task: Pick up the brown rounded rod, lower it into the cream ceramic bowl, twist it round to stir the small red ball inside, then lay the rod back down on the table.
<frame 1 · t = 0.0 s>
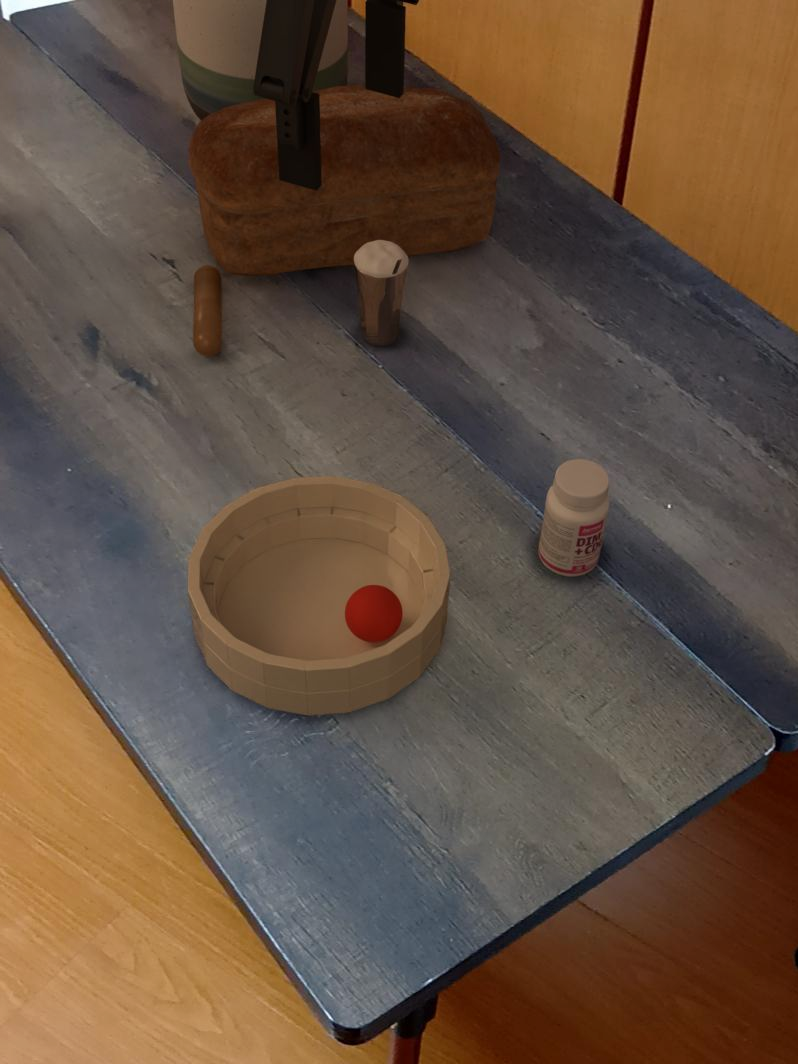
hand: (344, 135, 91), 26 cm above the table, tool pointing down, fingers open, 13 cm apart
bowl: (322, 621, 95), on the table
bread: (348, 241, 127), on the table
vase: (267, 121, 140), on the table
brown rounded rod: (208, 320, 116), on the table
milkshake: (382, 339, 117), on the table
red ball: (373, 613, 92), point 3 cm above the table, touching bowl
pill bottle: (568, 557, 102), on the table
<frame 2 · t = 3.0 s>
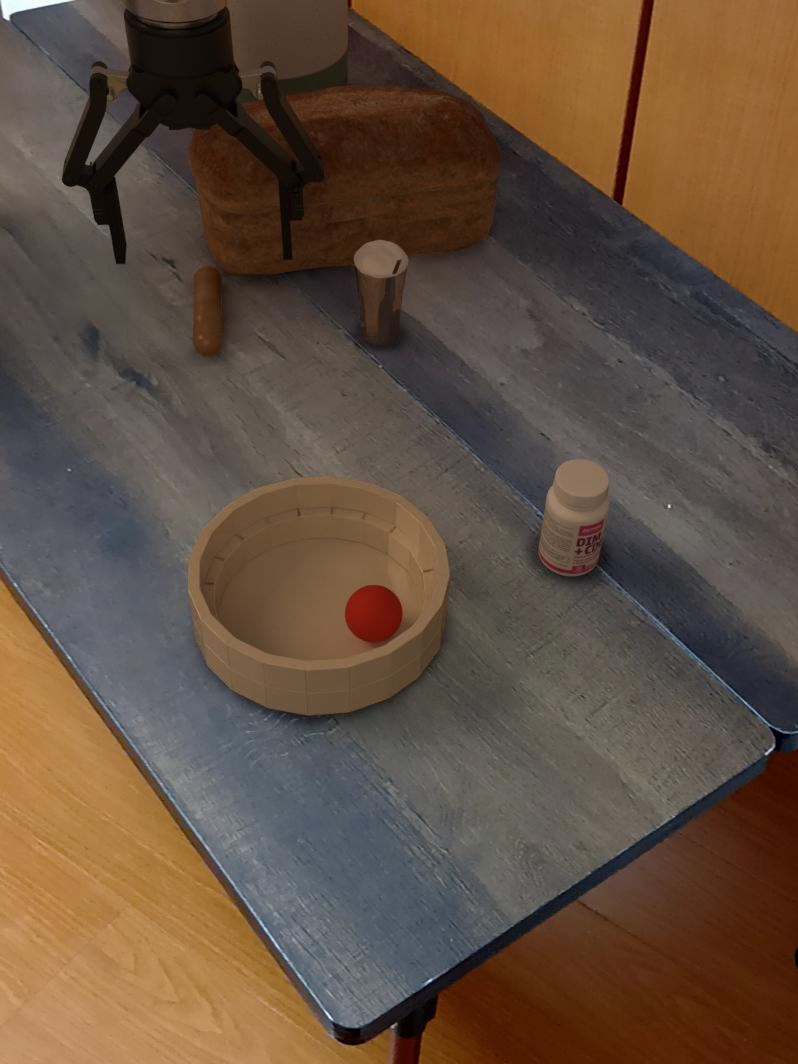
hand: (205, 252, 111), 7 cm above the table, tool pointing down, fingers open, 13 cm apart
nothing on the table moved.
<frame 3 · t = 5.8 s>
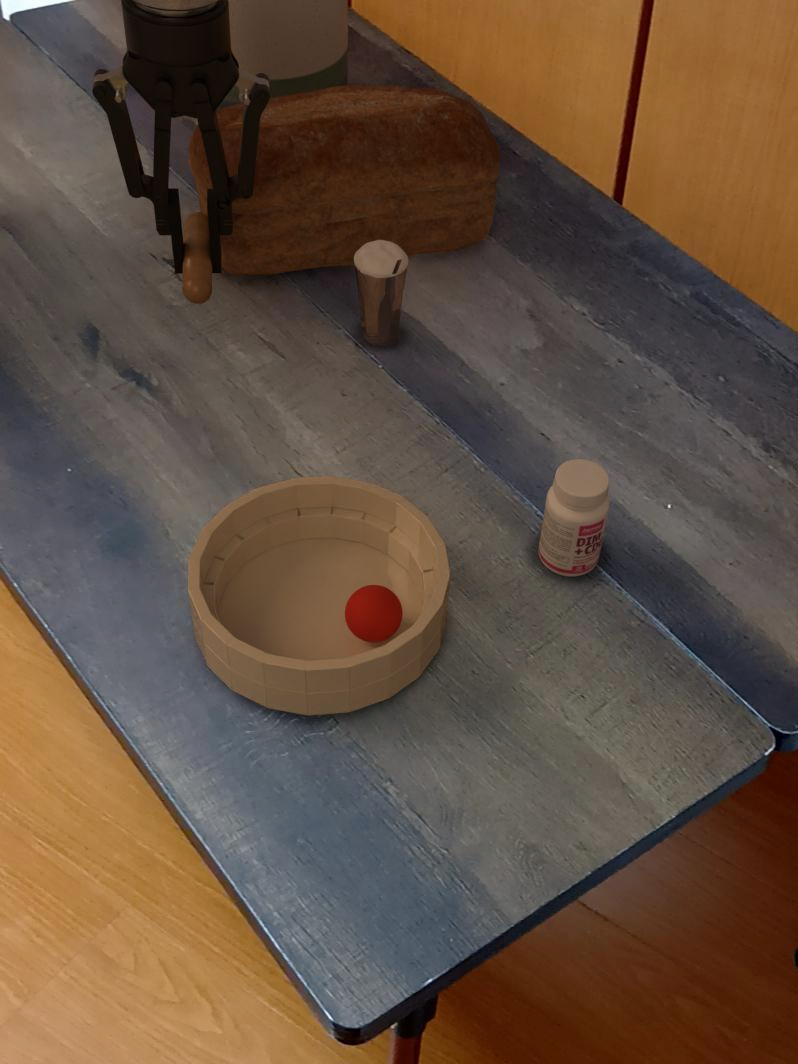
hand: (198, 263, 112), 6 cm above the table, tool pointing down, fingers closed on brown rounded rod, 2 cm apart
brown rounded rod: (198, 268, 112), point 5 cm above the table, touching gripper
everything else where it was.
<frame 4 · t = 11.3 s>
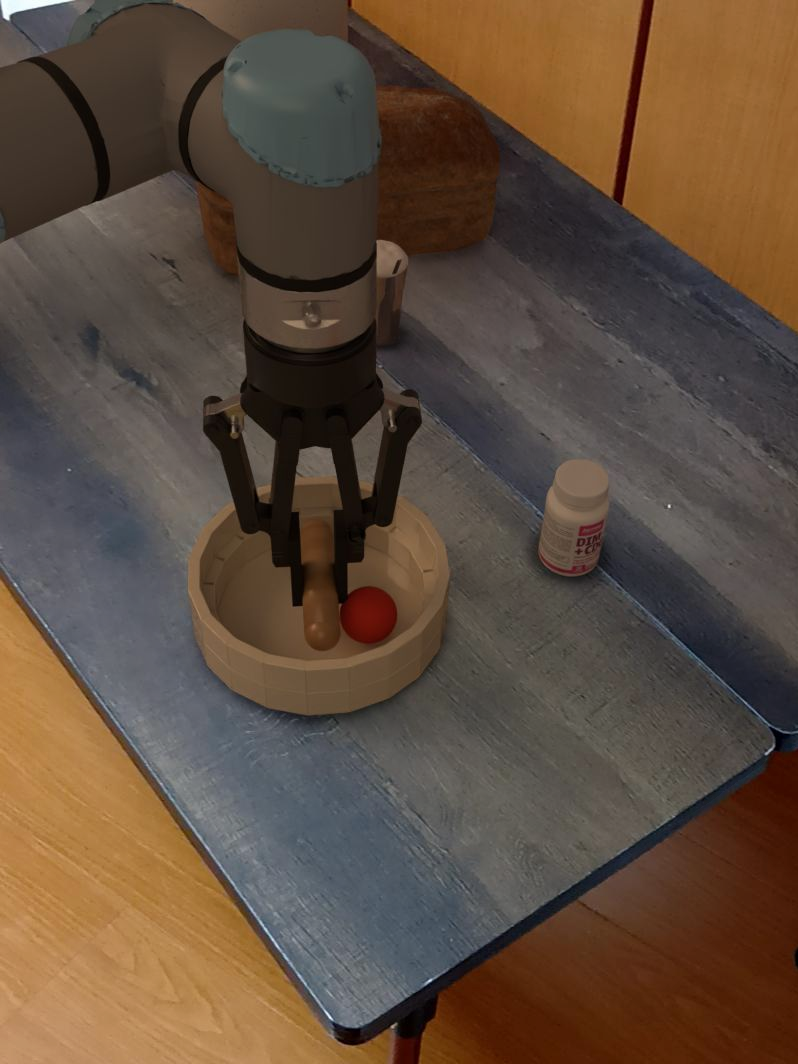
hand: (319, 589, 92), 4 cm above the table, tool pointing down, fingers closed on brown rounded rod, 2 cm apart
brown rounded rod: (319, 594, 92), point 4 cm above the table, touching gripper
red ball: (368, 614, 92), point 3 cm above the table, tilted 11°, touching bowl, gripper
everything else where it was.
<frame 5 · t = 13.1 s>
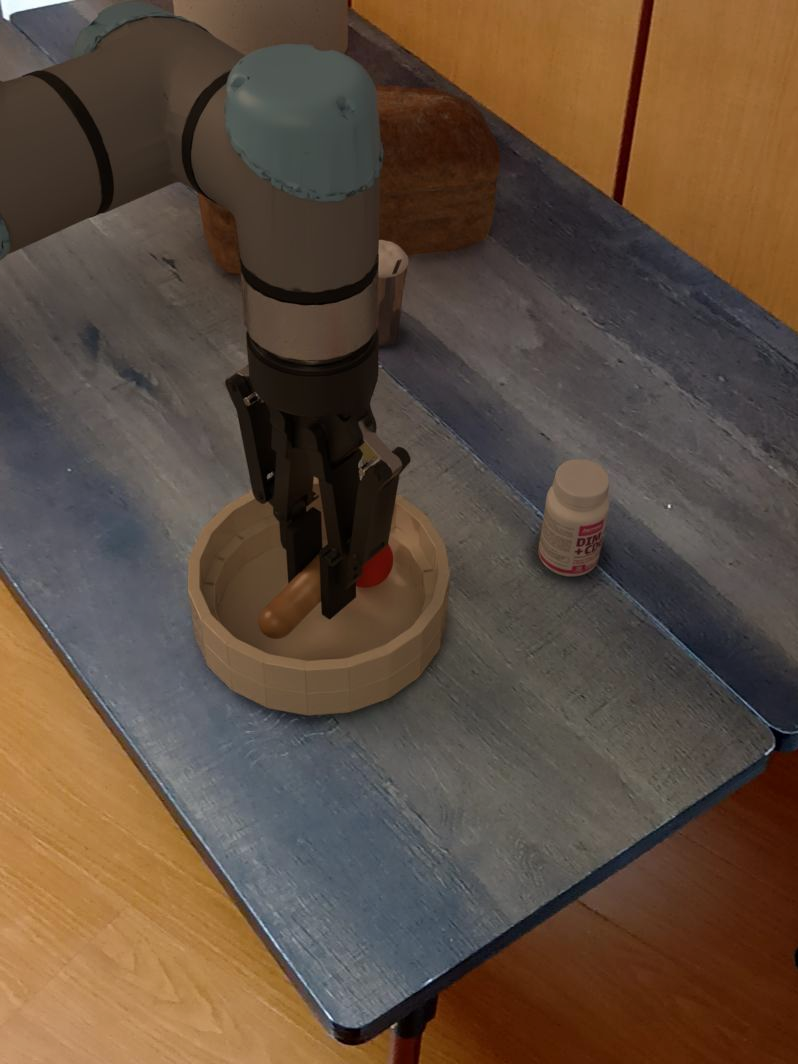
hand: (322, 594, 92), 3 cm above the table, tool pointing down, fingers closed on brown rounded rod, 2 cm apart
brown rounded rod: (311, 570, 92), point 5 cm above the table, tilted 66°, touching gripper, red ball
red ball: (365, 559, 95), point 3 cm above the table, tilted 137°, touching bowl, brown rounded rod
everything else where it was.
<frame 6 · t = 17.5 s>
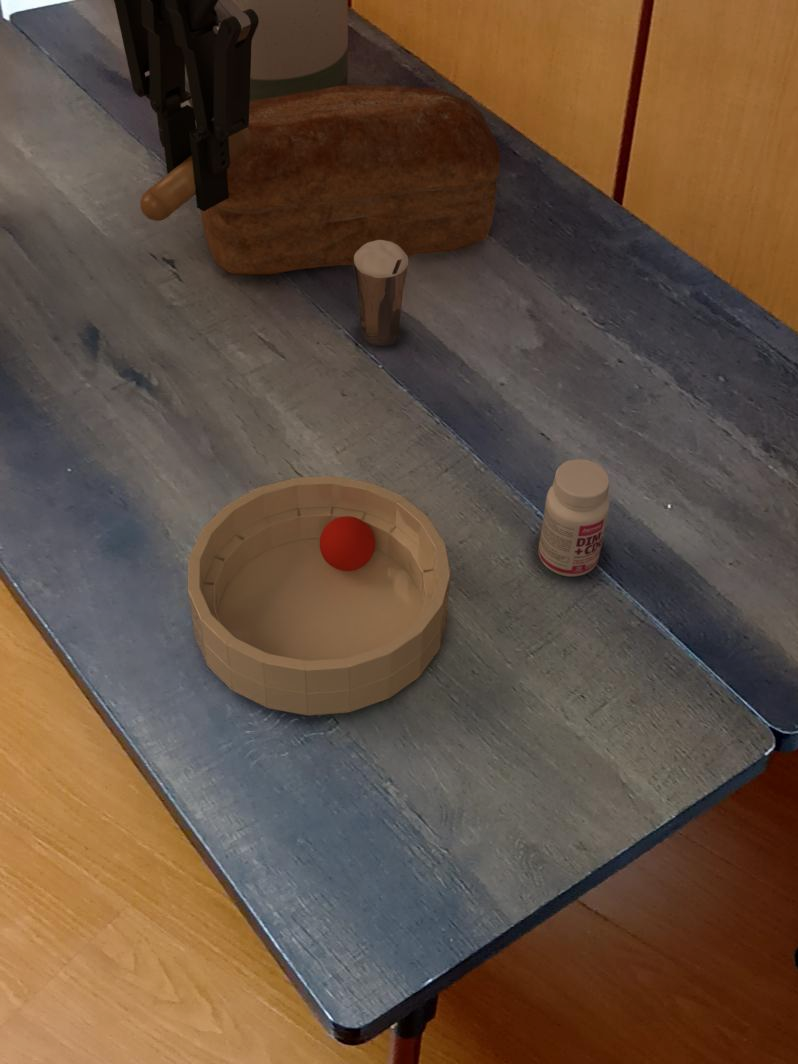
hand: (199, 194, 105), 14 cm above the table, tool pointing down, fingers closed on brown rounded rod, 2 cm apart
brown rounded rod: (188, 170, 104), point 16 cm above the table, tilted 67°, touching gripper
red ball: (347, 543, 96), point 3 cm above the table, tilted 126°, touching bowl
everything else where it was.
when the fingers open (0 cm above the table, at t = 21.7 s): brown rounded rod stays where it is and tips over, point 1 cm above the table.
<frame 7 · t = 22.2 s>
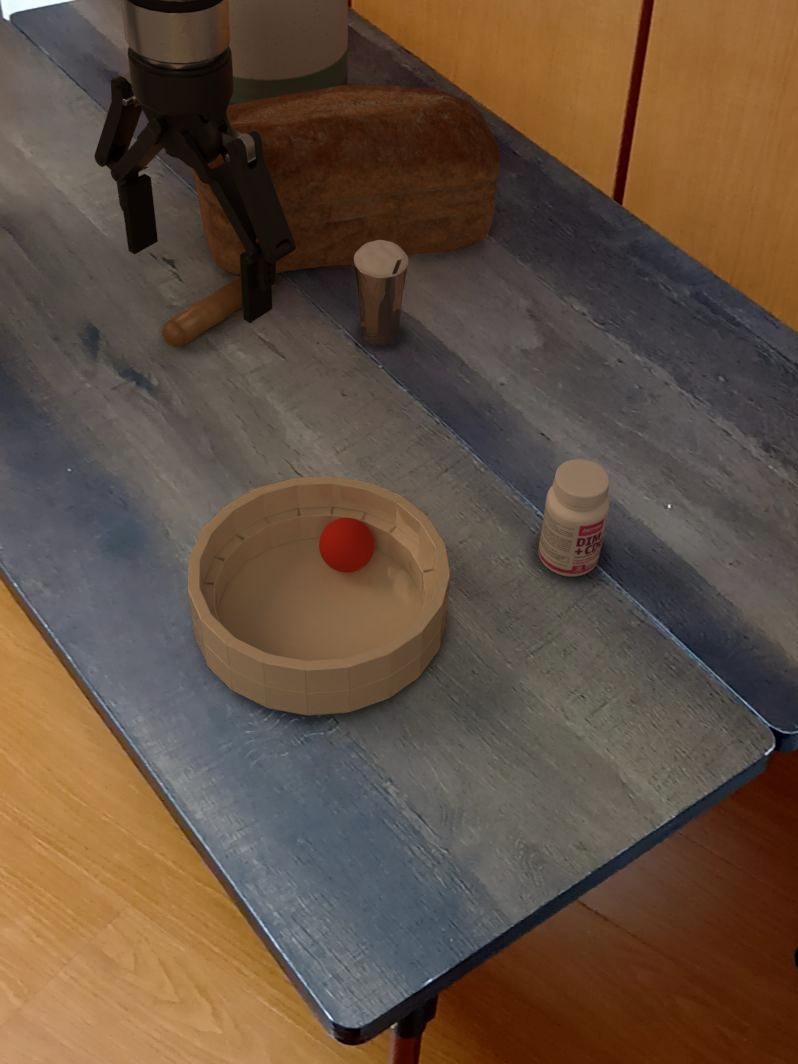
hand: (199, 280, 113), 4 cm above the table, tool pointing down, fingers open, 13 cm apart
brown rounded rod: (205, 306, 116), point 1 cm above the table, tilted 74°
everything else where it was.
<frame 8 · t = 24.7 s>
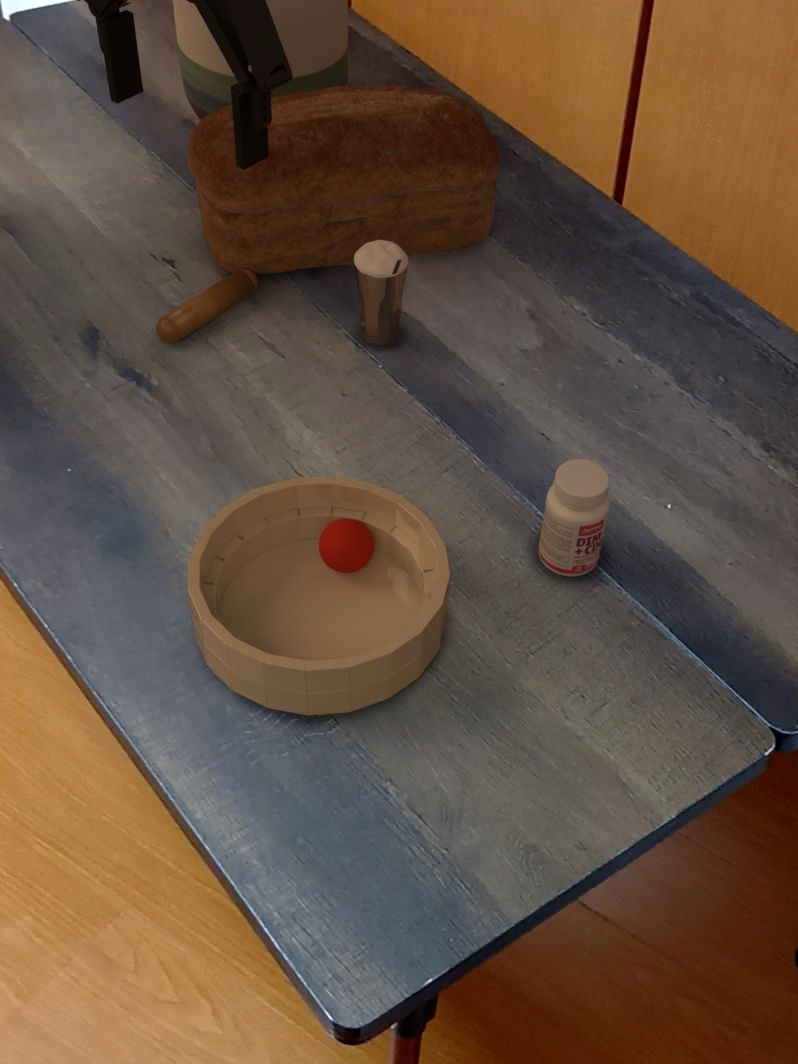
hand: (188, 128, 103), 19 cm above the table, tool pointing down, fingers open, 13 cm apart
brown rounded rod: (203, 310, 117), on the table, tilted 38°
everything else where it was.
at the end: red ball moved 6.7 cm from its start; red ball inside the target area in the bowl (5.0 cm from its centre), point 3.0 cm above the bowl's base; brown rounded rod touching table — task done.
